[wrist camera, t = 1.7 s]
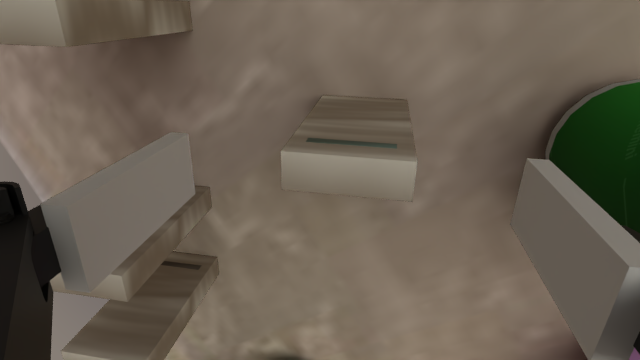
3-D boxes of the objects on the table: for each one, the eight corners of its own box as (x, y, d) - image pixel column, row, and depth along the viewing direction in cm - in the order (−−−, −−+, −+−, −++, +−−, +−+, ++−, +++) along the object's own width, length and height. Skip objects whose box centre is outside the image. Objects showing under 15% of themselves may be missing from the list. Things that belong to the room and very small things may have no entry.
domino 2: (144, 181, 28) (29, 263, 19) (209, 187, 27) (121, 275, 18) (148, 200, 29) (38, 289, 20) (211, 207, 28) (127, 301, 19)
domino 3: (157, 249, 31) (60, 350, 22) (217, 256, 30) (142, 364, 21) (160, 266, 31) (67, 371, 22) (219, 273, 31) (147, 385, 22)
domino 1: (111, -1, 23) (-67, -5, 14) (189, 1, 22) (54, -2, 13) (116, 27, 24) (-50, 41, 15) (192, 30, 23) (66, 47, 14)
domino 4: (323, 94, 23) (280, 150, 14) (407, 99, 23) (417, 161, 14) (322, 120, 24) (281, 189, 15) (403, 126, 23) (412, 202, 14)
